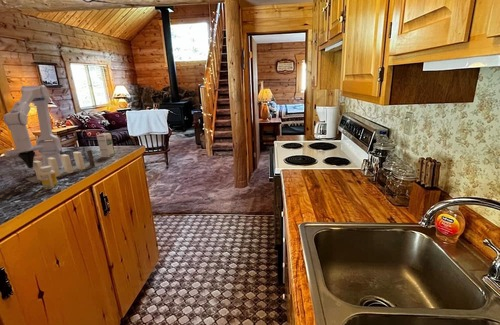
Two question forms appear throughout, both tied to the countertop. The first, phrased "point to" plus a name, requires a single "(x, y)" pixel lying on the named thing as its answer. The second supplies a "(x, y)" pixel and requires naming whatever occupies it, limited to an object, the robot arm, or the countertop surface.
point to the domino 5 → (90, 157)
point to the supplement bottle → (48, 177)
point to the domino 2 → (54, 165)
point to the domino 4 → (79, 160)
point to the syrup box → (105, 144)
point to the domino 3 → (66, 163)
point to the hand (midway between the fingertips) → (30, 167)
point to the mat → (62, 172)
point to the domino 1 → (37, 168)
